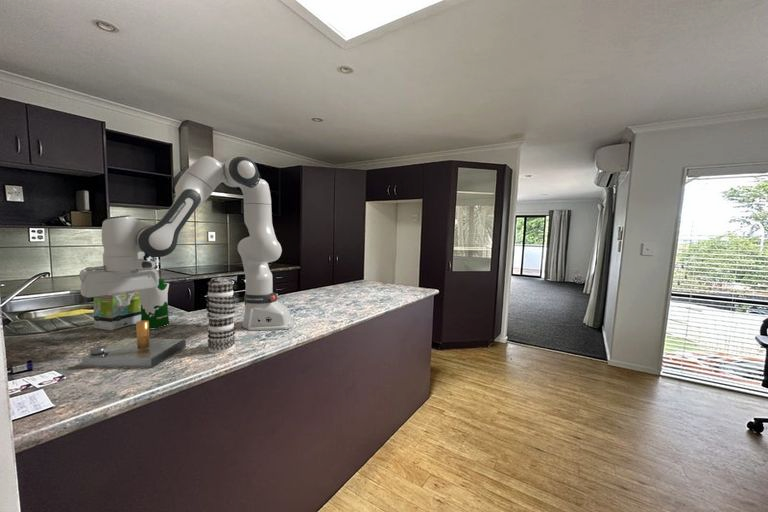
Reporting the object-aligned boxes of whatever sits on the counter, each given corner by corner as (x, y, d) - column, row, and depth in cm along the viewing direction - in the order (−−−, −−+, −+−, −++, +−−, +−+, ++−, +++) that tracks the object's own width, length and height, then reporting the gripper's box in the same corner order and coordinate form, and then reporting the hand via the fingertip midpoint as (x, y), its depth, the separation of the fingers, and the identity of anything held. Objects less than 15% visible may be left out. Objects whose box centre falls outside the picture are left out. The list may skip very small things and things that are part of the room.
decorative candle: (202, 353, 103) (200, 280, 101) (212, 343, 112) (211, 276, 110) (231, 352, 105) (230, 280, 103) (239, 342, 114) (238, 276, 112)
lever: (88, 355, 91) (86, 328, 90) (93, 351, 94) (91, 324, 93) (148, 348, 97) (147, 322, 97) (150, 344, 101) (150, 319, 100)
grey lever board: (185, 347, 108) (185, 338, 108) (152, 368, 92) (152, 357, 92) (125, 346, 107) (125, 337, 107) (82, 367, 91) (81, 356, 91)
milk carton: (155, 330, 125) (153, 281, 124) (136, 328, 126) (134, 280, 125) (173, 323, 134) (171, 278, 132) (154, 322, 135) (153, 277, 133)
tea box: (113, 330, 123) (111, 294, 122) (93, 328, 125) (91, 293, 124) (148, 320, 138) (147, 288, 137) (130, 318, 140) (129, 286, 139)
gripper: (83, 268, 91) (86, 314, 92) (160, 262, 109) (162, 300, 110) (74, 267, 94) (78, 311, 95) (150, 261, 112) (152, 298, 113)
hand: (123, 305), depth 103 cm, fingers closed
